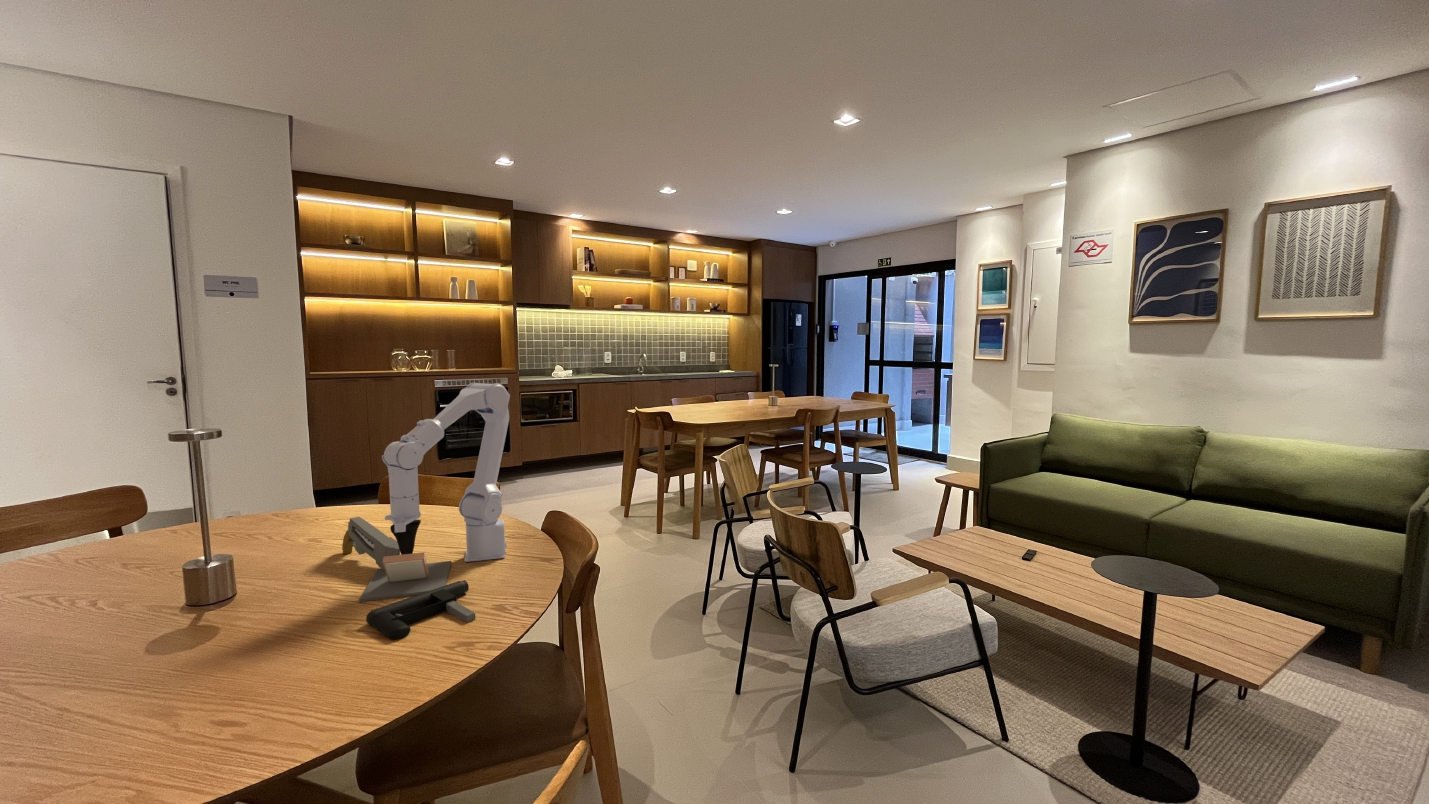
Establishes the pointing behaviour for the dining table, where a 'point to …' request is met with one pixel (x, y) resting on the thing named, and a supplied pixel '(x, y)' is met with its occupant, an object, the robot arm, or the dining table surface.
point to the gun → (368, 541)
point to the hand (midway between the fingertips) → (407, 554)
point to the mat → (406, 583)
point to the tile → (405, 567)
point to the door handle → (420, 610)
